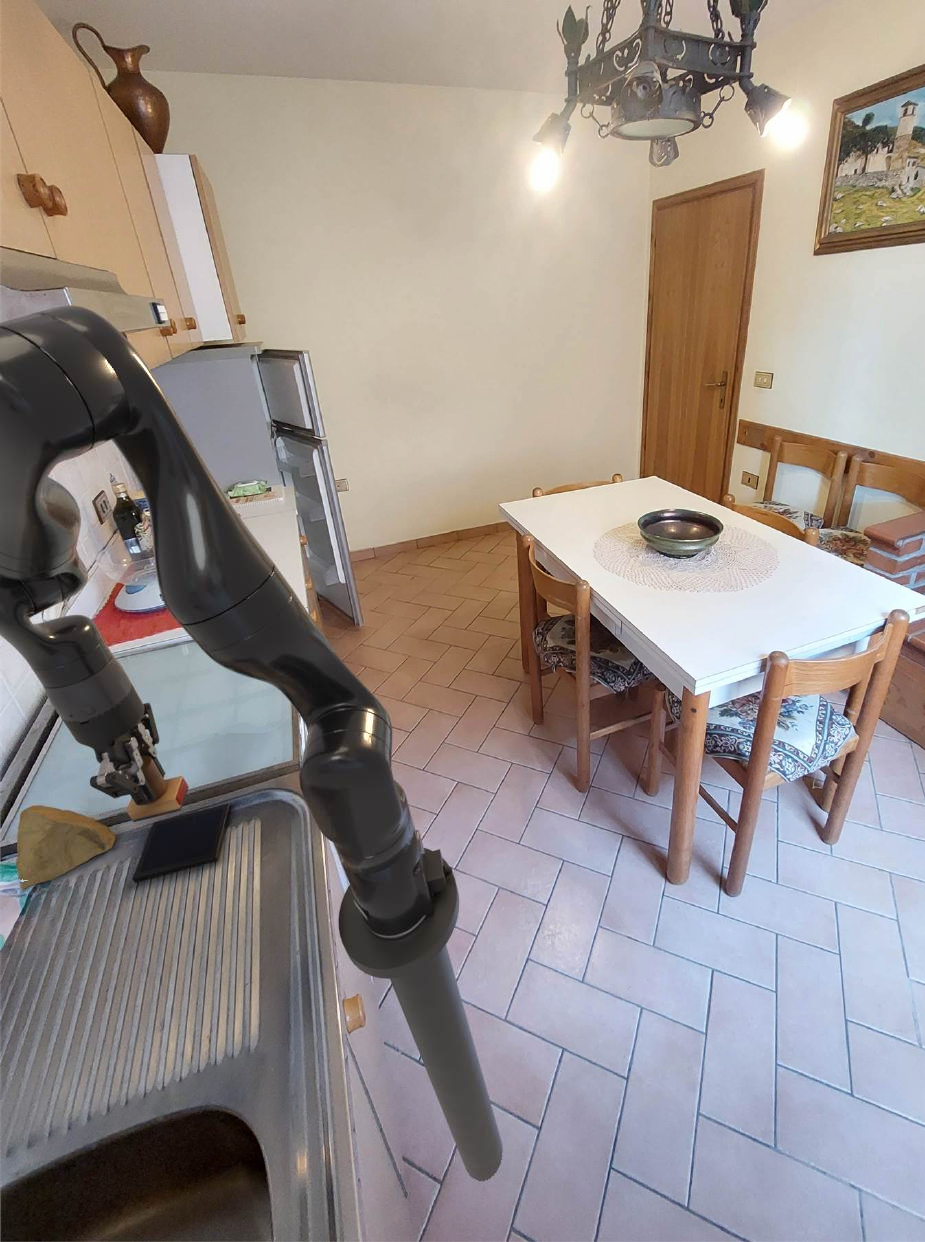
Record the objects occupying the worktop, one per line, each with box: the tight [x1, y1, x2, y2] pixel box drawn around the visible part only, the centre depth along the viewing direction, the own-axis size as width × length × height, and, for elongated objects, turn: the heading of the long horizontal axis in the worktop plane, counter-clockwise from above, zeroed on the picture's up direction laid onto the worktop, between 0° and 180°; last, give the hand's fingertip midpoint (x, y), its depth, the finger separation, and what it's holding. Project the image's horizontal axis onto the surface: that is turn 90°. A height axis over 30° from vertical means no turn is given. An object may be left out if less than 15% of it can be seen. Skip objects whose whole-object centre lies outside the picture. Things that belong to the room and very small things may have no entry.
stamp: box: [125, 756, 190, 823], centre depth 75 cm, size 6×4×8 cm, turn 103°
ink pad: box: [131, 803, 232, 884], centre depth 81 cm, size 11×9×1 cm
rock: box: [15, 804, 116, 890], centre depth 78 cm, size 11×9×10 cm
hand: (152, 789), depth 75 cm, fingers closed on stamp, 3 cm apart
